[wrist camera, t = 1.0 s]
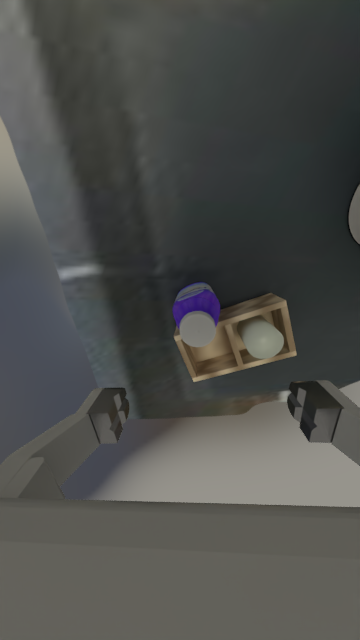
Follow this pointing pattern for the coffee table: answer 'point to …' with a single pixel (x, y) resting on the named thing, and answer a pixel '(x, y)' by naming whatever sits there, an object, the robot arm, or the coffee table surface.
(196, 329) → the bottle
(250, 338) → the pale green egg
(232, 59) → the coffee table surface
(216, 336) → the rack
